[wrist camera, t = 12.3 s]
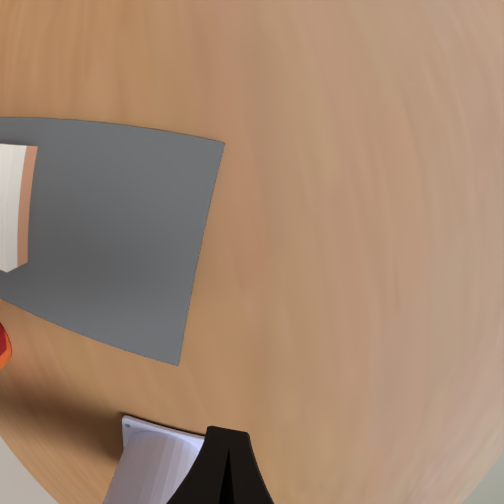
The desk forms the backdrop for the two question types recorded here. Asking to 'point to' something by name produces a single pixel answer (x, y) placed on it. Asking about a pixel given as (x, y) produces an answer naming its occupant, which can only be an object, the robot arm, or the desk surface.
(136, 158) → the mat
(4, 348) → the paper cup
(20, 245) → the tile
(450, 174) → the desk surface
